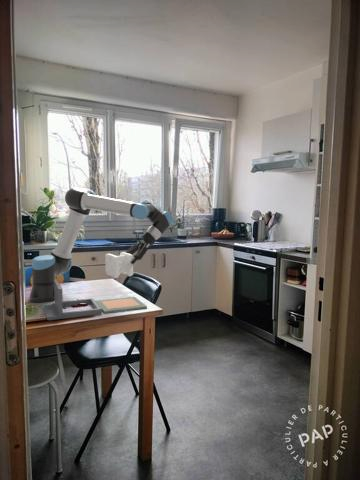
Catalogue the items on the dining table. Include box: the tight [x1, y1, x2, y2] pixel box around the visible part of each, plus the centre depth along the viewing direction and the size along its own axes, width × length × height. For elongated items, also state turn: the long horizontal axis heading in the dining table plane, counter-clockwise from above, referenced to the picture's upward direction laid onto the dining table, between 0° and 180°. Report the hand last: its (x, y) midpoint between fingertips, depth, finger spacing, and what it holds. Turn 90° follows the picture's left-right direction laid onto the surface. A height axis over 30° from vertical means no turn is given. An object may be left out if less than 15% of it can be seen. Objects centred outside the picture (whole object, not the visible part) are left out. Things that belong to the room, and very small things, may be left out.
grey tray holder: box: [43, 279, 103, 321], centre depth 169 cm, size 20×24×14 cm
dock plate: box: [95, 296, 148, 314], centre depth 180 cm, size 20×22×1 cm
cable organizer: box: [104, 251, 134, 279], centre depth 178 cm, size 15×11×12 cm
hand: (123, 266), depth 179 cm, fingers closed on cable organizer, 11 cm apart
